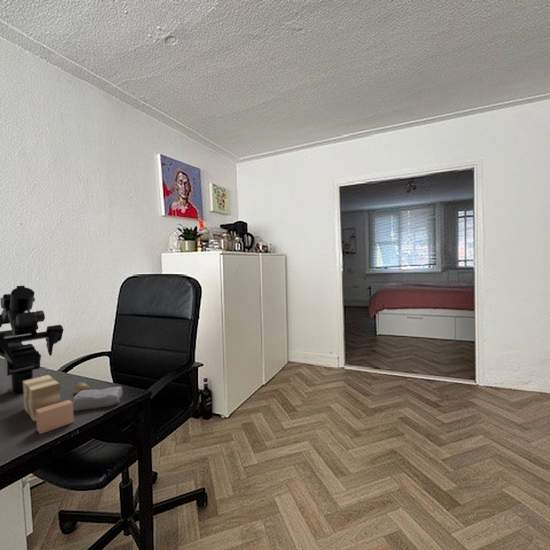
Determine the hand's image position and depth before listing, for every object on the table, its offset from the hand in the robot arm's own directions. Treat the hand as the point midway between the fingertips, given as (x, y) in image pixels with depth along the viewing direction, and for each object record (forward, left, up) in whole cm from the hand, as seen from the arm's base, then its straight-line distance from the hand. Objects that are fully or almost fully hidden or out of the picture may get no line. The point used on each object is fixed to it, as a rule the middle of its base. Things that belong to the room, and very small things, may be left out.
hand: (32, 358), depth 92 cm
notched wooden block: (+10, -2, -13) cm, 17 cm away
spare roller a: (+8, +10, -13) cm, 18 cm away
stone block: (+19, +9, -14) cm, 25 cm away
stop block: (+24, -4, -13) cm, 27 cm away
